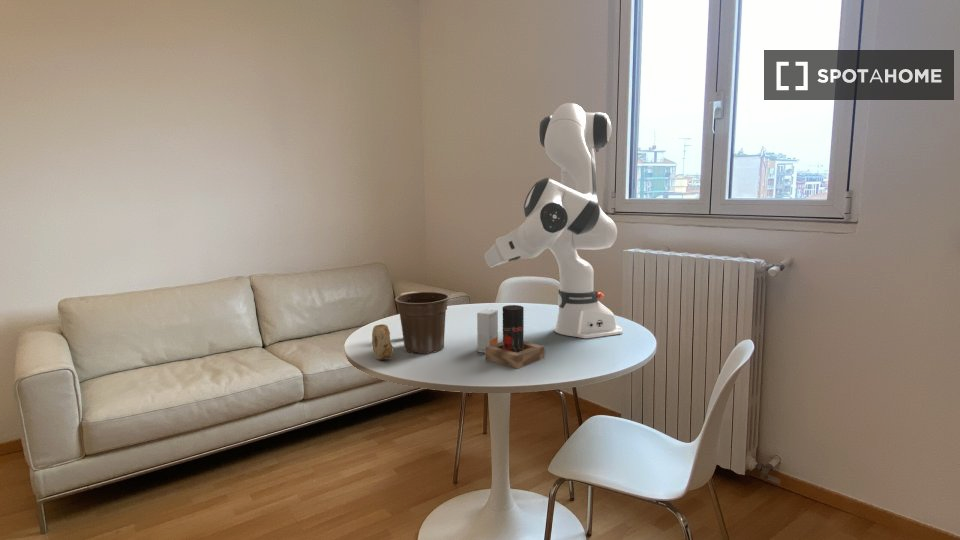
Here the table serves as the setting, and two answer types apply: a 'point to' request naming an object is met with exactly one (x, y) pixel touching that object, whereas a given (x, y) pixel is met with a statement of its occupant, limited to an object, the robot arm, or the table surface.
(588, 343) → the table surface
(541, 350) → the walnut socket block
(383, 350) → the stone disc
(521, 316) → the deodorant
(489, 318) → the skincare box
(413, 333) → the plant pot
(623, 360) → the table surface
